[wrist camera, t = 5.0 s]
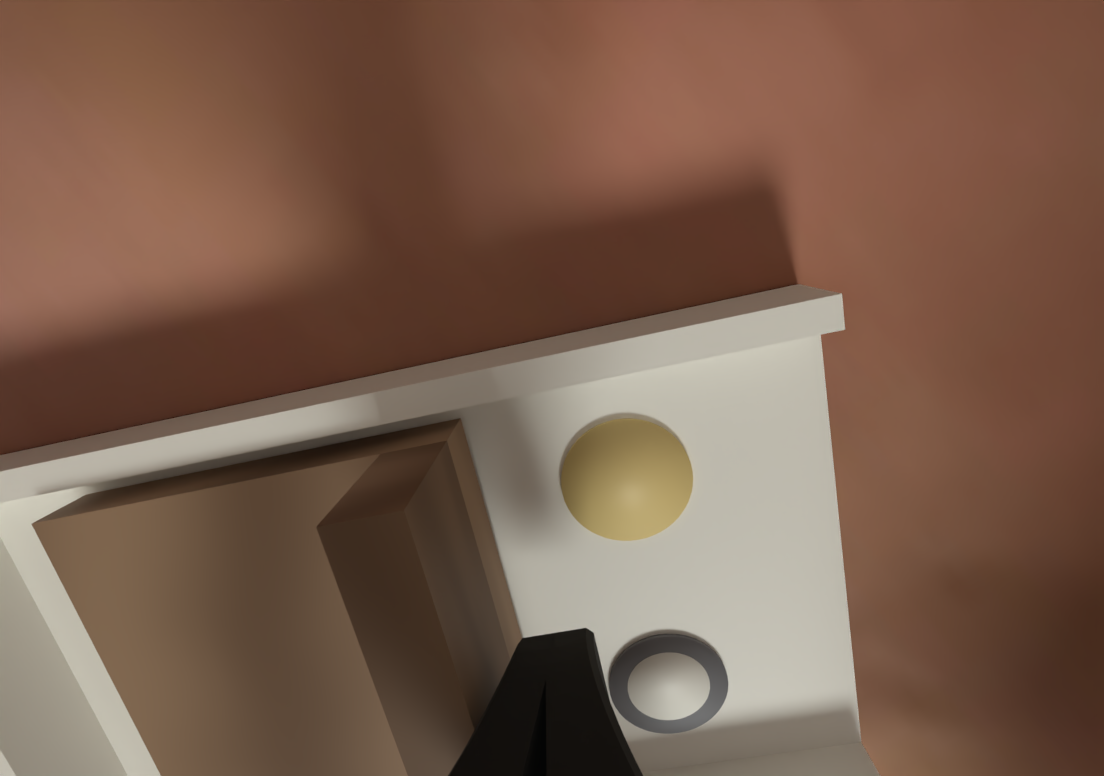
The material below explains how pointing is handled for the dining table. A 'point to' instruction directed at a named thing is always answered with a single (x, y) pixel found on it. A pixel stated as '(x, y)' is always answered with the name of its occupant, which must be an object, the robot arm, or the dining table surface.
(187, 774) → the cover
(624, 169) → the dining table surface
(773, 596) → the board
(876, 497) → the dining table surface
